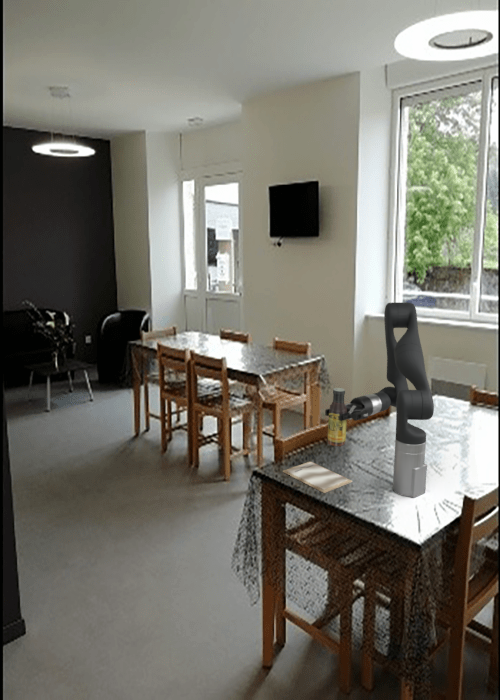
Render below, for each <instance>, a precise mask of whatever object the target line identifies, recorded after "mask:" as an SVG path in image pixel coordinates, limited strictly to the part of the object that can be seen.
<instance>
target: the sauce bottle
mask: <svg viewBox="0 0 500 700" xmlns="http://www.w3.org/2000/svg"><path fill="white" fill-rule="evenodd" d="M332 390H333V391H332V394H333V396H332V402H331V404H330V405H331V406H330V405H329V409H330V410H329V416H328V424H327V444H328V445H330V446H332V447H342V446H344V445H345V444H346V439H347V421H348V419H347V420H343V421H340V420H339V415H340V414H343V413H347V408H346V406H345V404H346V403H345V394H346V389H345V388H343V387H335V388H333V389H332Z"/></svg>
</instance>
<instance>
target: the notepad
mask: <svg viewBox="0 0 500 700" xmlns="http://www.w3.org/2000/svg"><path fill="white" fill-rule="evenodd" d="M282 473H284V474H286V475H288V476H289V475H290V477H291V478H293V479H295V480H297V481H300V482H302V483H304V484H306V485H307V486H310V487H311V488H313V489H315V490H317V491H319V492H321V493H323V494H325V493H328V492H331V491H333V490H336V489H338V488H341V487H343V486H345V485H348V484H350V483H353V480H351V479H350V478H347V477H345V476H343V475H341V474H338V473H336V472H334V471H332V470H330V469H328V468H326V467H323V466H321V465H320V464H317V463H315V462H313V461H307V462H304V463H302V464H299V465H295V466H292V467H290V468H288V469H283V470H282Z"/></svg>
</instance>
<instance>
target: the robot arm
mask: <svg viewBox="0 0 500 700" xmlns="http://www.w3.org/2000/svg"><path fill="white" fill-rule="evenodd" d="M383 318H384V320H383V321H384V334H385V337H384V338H385V346H386V380H387V381H388V382H389V383H390V384H391V385H393V386H385V387H384V388H382V389H381V390H379V391H378V392H374V393H368V394H365V395H361V396H357V397H354V398H352V399H351V400H350V402H348V403H344V404H345V406H346V408H347V413H343V414H340V415H339V420H340V421H343V420H347V421H349V420H350V421H351V420H353V421H355V422H356V421H360V420H365V419H368V418H369V417H370V416H373V415H375V414H379V413H382V412H384V411H386V410H388V409H389V408H390V407H394V408H395V409H396V410H395V411H396V412H395V413H396V421H395V422H396V423H395V441H394V455H393V456H394V458H393V473H392V475H393V476H392V479H393V480H392V490H393V491H394V493H396V494H398V495H401V496H405V497H411V498H414V499H415V498H416V497H419V496H420V495H423V494H425V493H426V487H427V486H426V485H427V470H428V465H427V464H426V463H425V462H426V461H425V458H426V444H427V443H426V442H427V433H426V431H425V430H424V429H422V428H421V427H419V426H415V425H413V424H411V423H410V422H408V420H413V421H416V420H417V421H427V420H431V419H432V418H433V416H434V414H435V412H434V411H435V405H434V403H435V402H434V399H433V398H434V397H433V395H432V394H433V393H432V389H431V387H430V384H429V380H428V377H427V372H426V367H425V365H426V364H425V357H424V352H423V348H422V344H421V340H420V339H421V338H420V335H419V326H418V325H419V324H418V313H417V309H416V306H415V304H414V303H412V302H387V303H386V305H385V306H384V317H383ZM401 328H402V329H406V331H405V333H404V334H403V335H402V337H400V339H399V340H398V341H397V340H396V335H395V331H394V329H401ZM407 380H408V381H409V382H410V384H412V385H413V387H414V389H409V385H408V384H409V383H408V381H407ZM330 406H331V404H330V405H329V407H330ZM329 410H330V408H326V409H325V410H324V413H325V416H326V417H329Z"/></svg>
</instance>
